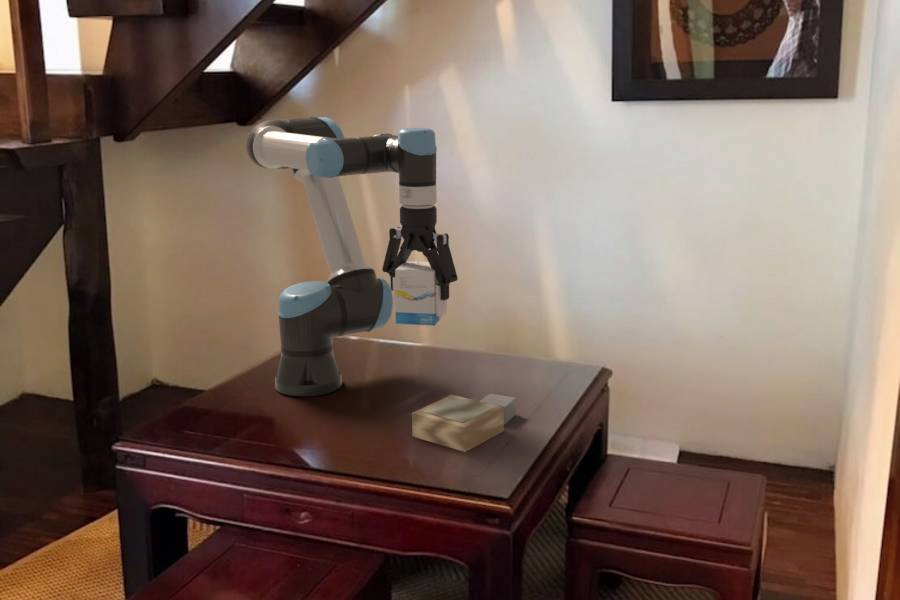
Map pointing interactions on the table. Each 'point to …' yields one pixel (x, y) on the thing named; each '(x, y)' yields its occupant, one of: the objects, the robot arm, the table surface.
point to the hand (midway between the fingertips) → (419, 310)
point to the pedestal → (458, 422)
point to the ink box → (416, 294)
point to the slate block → (502, 404)
